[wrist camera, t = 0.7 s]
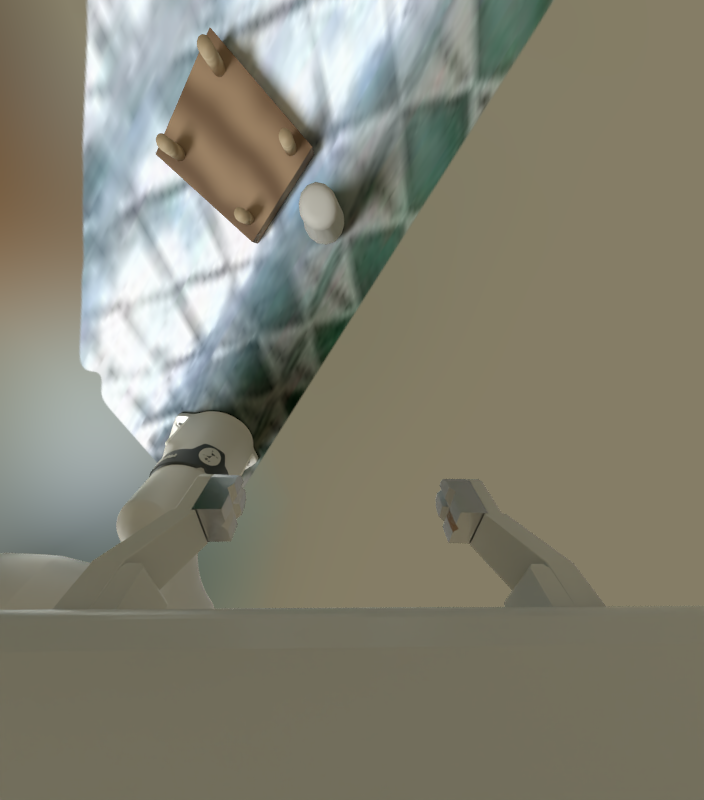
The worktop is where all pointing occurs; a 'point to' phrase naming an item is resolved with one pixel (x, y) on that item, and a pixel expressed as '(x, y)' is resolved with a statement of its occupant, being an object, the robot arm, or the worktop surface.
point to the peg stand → (233, 141)
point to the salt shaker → (321, 213)
